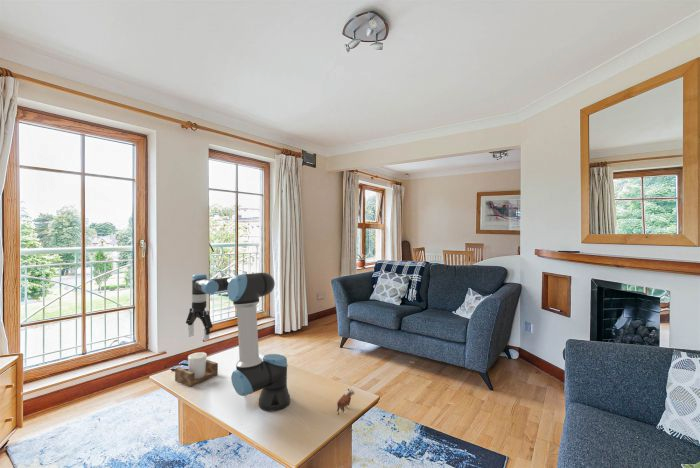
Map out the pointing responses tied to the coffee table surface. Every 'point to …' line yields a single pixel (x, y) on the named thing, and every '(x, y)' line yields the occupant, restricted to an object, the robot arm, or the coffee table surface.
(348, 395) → the bull figurine
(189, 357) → the candle holder
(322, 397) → the coffee table surface
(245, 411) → the coffee table surface
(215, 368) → the wooden tray
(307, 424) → the coffee table surface
